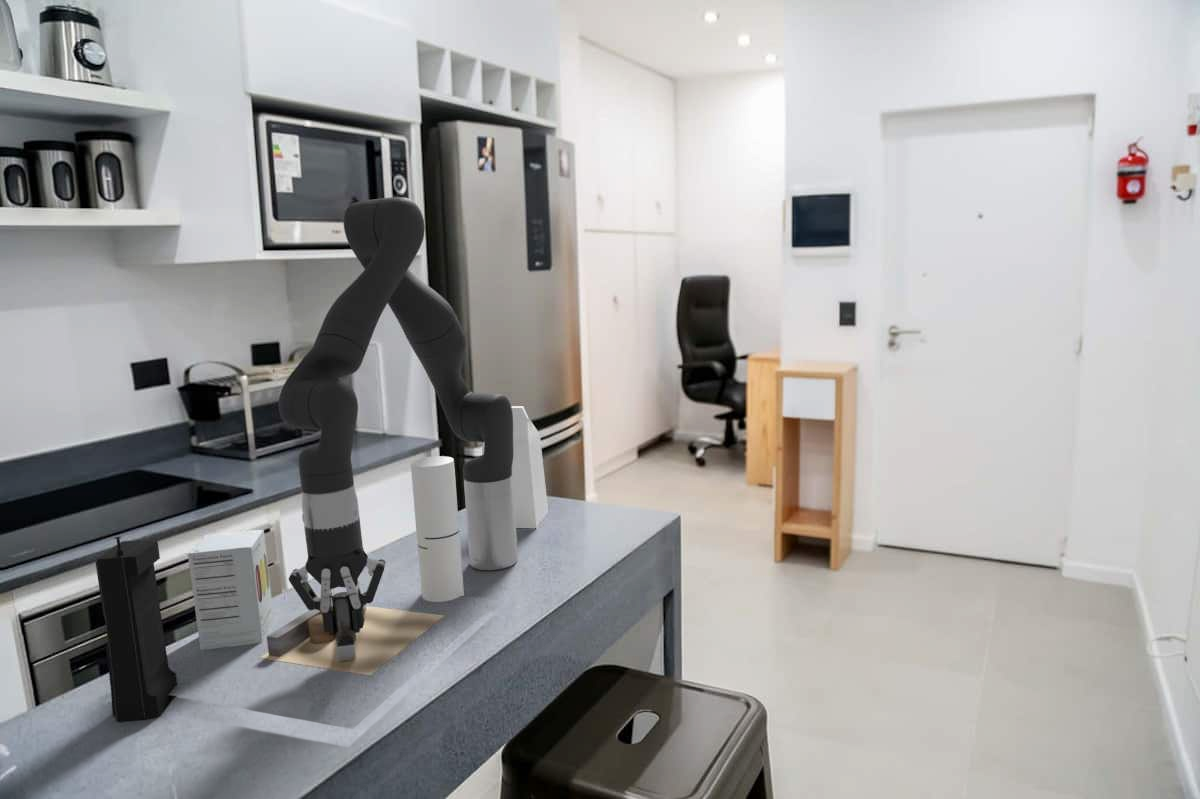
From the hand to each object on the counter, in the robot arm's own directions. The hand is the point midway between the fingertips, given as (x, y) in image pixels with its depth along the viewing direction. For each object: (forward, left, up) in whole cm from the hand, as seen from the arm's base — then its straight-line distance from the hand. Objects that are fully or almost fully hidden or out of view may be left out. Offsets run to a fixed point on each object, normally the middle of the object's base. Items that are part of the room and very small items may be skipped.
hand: (345, 631), depth 120 cm
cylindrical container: (-25, +1, -6) cm, 25 cm away
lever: (-7, -4, -4) cm, 9 cm away
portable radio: (+16, -21, -6) cm, 27 cm away
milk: (-69, -6, -6) cm, 69 cm away
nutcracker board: (-7, -3, -6) cm, 9 cm away
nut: (-5, -8, -4) cm, 10 cm away
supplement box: (-3, -23, -6) cm, 23 cm away
